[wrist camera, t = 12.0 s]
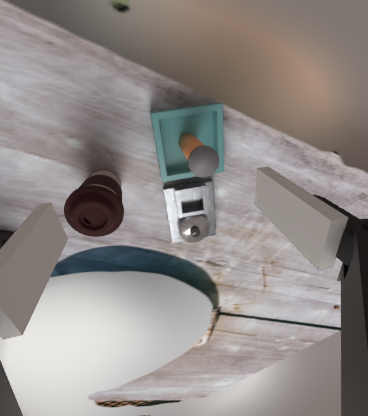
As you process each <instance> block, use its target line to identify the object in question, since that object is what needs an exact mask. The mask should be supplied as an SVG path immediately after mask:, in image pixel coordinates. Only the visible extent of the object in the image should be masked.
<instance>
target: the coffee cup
mask: <svg viewBox="0 0 368 416" xmlns="http://www.w3.org/2000/svg"><path fill="white" fill-rule="evenodd" d="M64 215H65V218H66V220H67V222H68V223H69V225H70V226H71V227H72V228H73V229H75V230H76V231H78V232H79V233H81V234H84V235H87V236H93V237H99V236H105V235H108V234H110V233H112V232H114V231H115V230H116V229H117V228H118V227H119V226H120V224H121V223H122V220H123V215H124V208H123V204H122V190H121V183H120V180H119V179H118V177H117V176H116V175H115V174H113V173H111V172H109V171H97V172H95V173H93V174H92V175H91V176H90V177H89V178H87V179H86V180H85V181H84V182H83V184H82V185H81V186H80V187H79V188H78V189H76V190H75V191H74V192H72V193H71V195H70V196H69V197H68V199H67V201H66V203H65V206H64Z"/></svg>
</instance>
